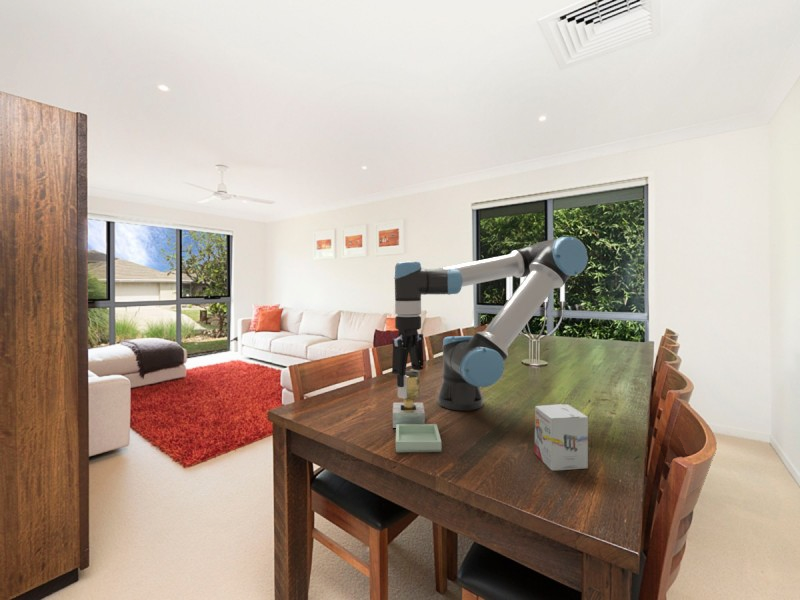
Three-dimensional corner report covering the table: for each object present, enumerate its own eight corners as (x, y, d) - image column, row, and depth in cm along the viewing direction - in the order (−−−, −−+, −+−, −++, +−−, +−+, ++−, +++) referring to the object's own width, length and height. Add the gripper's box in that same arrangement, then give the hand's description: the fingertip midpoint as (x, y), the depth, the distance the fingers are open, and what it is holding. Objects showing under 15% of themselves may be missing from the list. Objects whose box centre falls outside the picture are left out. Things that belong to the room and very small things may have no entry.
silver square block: (422, 417, 109) (422, 402, 109) (424, 428, 100) (424, 413, 100) (393, 417, 109) (393, 402, 109) (392, 428, 100) (392, 413, 100)
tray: (436, 433, 97) (436, 424, 97) (441, 452, 86) (441, 441, 86) (396, 433, 97) (396, 424, 97) (395, 452, 86) (395, 442, 86)
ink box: (533, 452, 86) (533, 404, 85) (567, 451, 87) (568, 402, 86) (551, 471, 77) (551, 417, 77) (589, 469, 78) (590, 415, 77)
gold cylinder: (405, 410, 109) (405, 367, 109) (423, 414, 106) (423, 370, 105) (393, 417, 104) (393, 372, 103) (412, 421, 100) (412, 375, 100)
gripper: (413, 312, 114) (414, 384, 115) (377, 317, 97) (378, 401, 98) (435, 313, 110) (435, 388, 111) (401, 318, 93) (402, 406, 94)
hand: (408, 394), depth 105 cm, fingers closed on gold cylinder, 6 cm apart
